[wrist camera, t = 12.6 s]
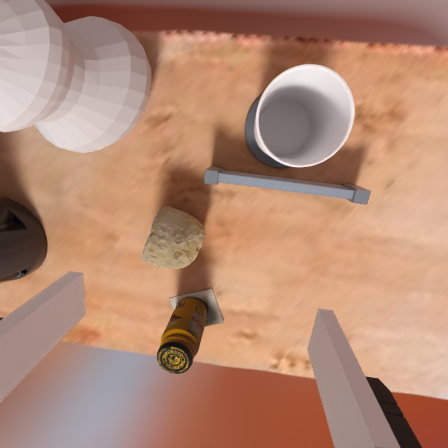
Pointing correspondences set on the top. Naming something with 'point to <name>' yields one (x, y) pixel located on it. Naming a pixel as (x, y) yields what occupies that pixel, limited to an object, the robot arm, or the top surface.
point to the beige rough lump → (173, 239)
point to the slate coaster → (252, 141)
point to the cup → (304, 115)
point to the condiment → (187, 329)
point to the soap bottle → (69, 76)
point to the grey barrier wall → (288, 184)
